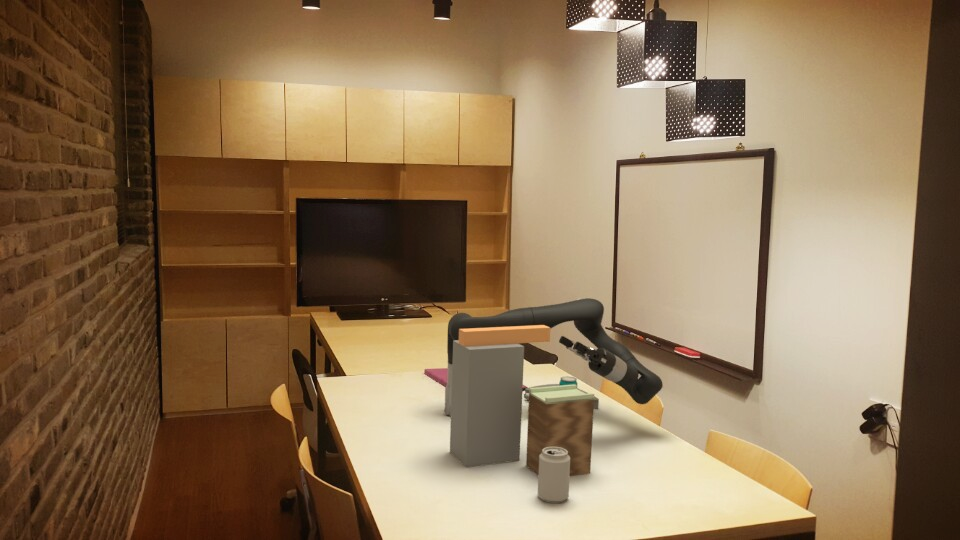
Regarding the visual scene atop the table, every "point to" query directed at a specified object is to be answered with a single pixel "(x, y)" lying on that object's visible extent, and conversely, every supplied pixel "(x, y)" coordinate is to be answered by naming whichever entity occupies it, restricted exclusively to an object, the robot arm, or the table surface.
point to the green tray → (560, 394)
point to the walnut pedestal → (560, 432)
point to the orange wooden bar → (504, 335)
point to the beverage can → (567, 381)
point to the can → (554, 474)
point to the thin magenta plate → (443, 375)
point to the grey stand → (486, 403)
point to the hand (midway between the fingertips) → (568, 341)
